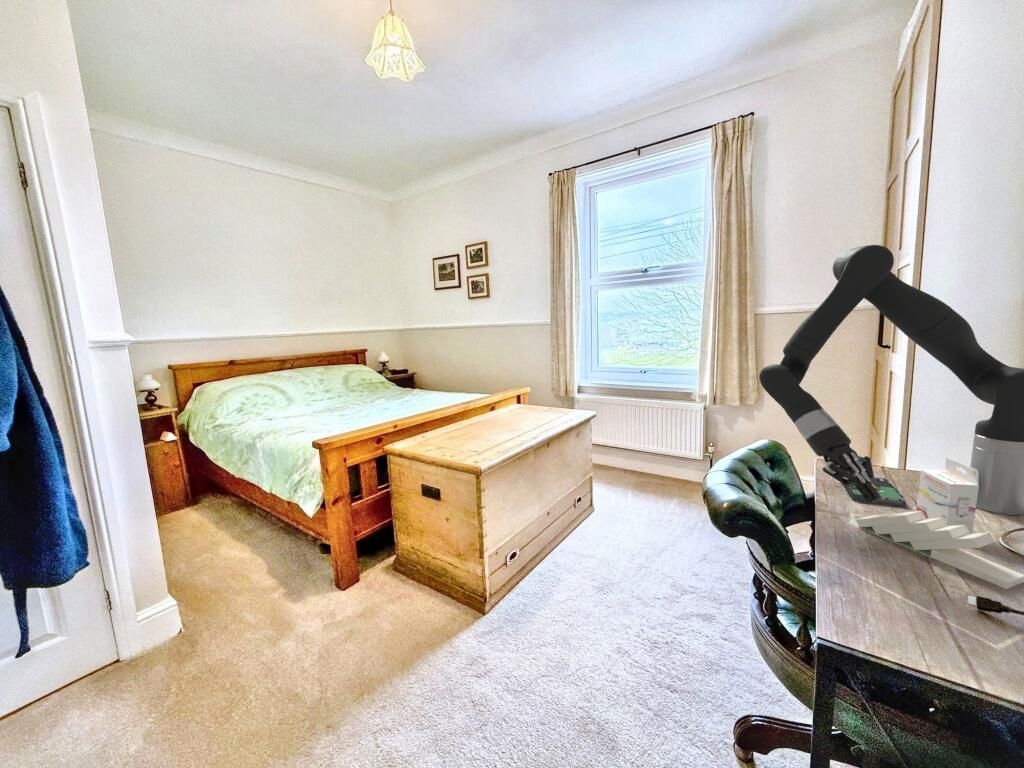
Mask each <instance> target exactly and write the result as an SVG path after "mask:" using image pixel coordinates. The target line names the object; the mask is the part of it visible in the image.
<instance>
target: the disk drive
mask: <svg viewBox="0 0 1024 768" xmlns="http://www.w3.org/2000/svg"><path fill="white" fill-rule="evenodd" d="M846 480H847V479H846ZM870 483H871V484H872V486H873V487H874V488H875V490H876V491H877V492H878V493H879V495H880V496H881V499H880V500H877V501H875V502H871V503H870V504H876V505H877V504H878V505H884V506H885V505H886V506H891V507H899V508H900V507H901V508H906V507H907V502H906V499H905V497H904V496H903V495H902V494H901V493H900V492H899V490H897V488H896V487H895V486H894V484H892V483H891V482H890V480H888V478H885V477H884V478H883V477H874V478H872V479H871V482H870ZM841 485H842V486H843V488H844V490H845V492H846V493H847V495H848V496H849V497H850V499H851V501H854V502H856V501H857V502H863V503H869V502H868V501H867V500H866V499H865V498H864V497H863V496H862V494H861V493H860V492H859V491H858V489H857V488H856V487H853V486H851V485H849V486H846V485H844V484H843V483H841Z"/></svg>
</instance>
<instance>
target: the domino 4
mask: <svg viewBox="0 0 1024 768" xmlns="http://www.w3.org/2000/svg"><path fill="white" fill-rule="evenodd" d="M995 542H996V540H995V539H994V538H993V536H992V534H991V532H977V533H976V532H975V533H974V532H973V533H972V534H968V535H965V536H961V537H958V538H955V539H946V540H925V541H910V543H911V544H912V546H913V548H914V550H929V549H958V548H959V549H979V548H982V547H985V546H988V545H991V544H993V543H995Z"/></svg>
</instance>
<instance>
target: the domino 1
mask: <svg viewBox="0 0 1024 768" xmlns="http://www.w3.org/2000/svg"><path fill="white" fill-rule="evenodd" d="M924 519H926V518H925V516H924V514H923V512H922V511H916V510H915V511H905V512H896V513H893V512H892V513H883V514H873V515H868V516H865V517H864V516H863V517H860V518H857V519H855V520H856V522H857V524H858V526H859V527H869V526H884V525H898V524H910V523H914V522H917V521H921V520H924Z"/></svg>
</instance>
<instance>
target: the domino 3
mask: <svg viewBox="0 0 1024 768" xmlns="http://www.w3.org/2000/svg"><path fill="white" fill-rule="evenodd" d="M968 534H970V533H969V531H968V529H967V527H966V526H965V525H955V526H946V527H943V528H939V529H936V530H933V531H926V532H908V533H892V534H891V536H892V538H893V540H894V542H905V541H925V540H946V539H955V538H958V537H961V536H965V535H968ZM894 542H893V543H894Z"/></svg>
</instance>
